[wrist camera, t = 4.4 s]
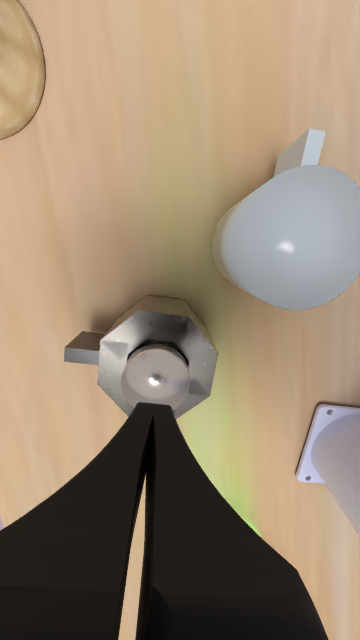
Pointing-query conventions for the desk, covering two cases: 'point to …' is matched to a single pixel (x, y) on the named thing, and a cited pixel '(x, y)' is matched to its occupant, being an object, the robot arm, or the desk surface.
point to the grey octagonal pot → (135, 328)
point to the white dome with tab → (293, 232)
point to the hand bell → (18, 68)
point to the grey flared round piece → (156, 375)
